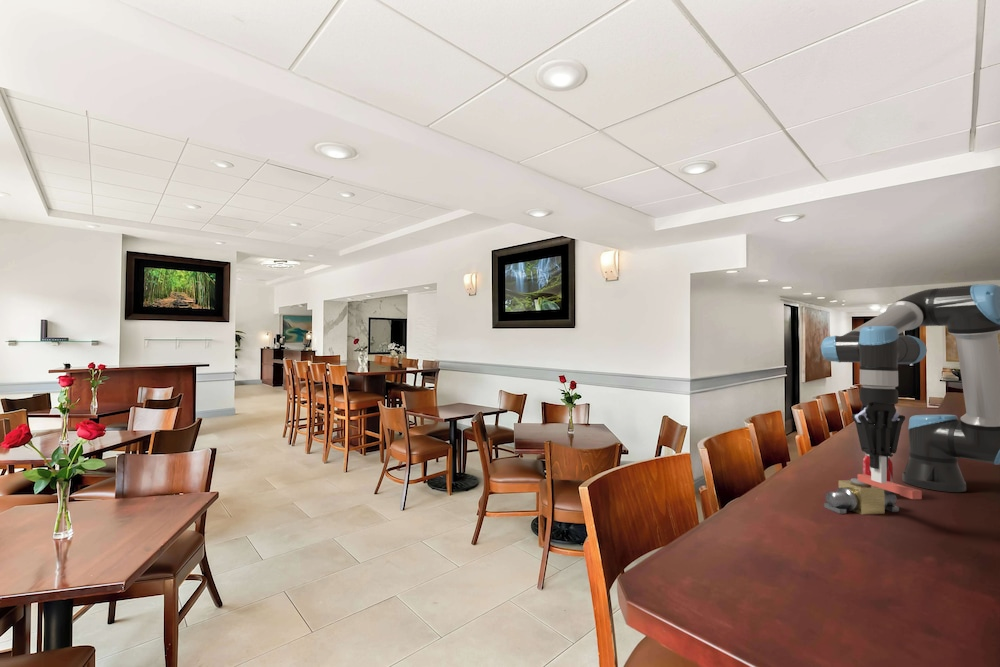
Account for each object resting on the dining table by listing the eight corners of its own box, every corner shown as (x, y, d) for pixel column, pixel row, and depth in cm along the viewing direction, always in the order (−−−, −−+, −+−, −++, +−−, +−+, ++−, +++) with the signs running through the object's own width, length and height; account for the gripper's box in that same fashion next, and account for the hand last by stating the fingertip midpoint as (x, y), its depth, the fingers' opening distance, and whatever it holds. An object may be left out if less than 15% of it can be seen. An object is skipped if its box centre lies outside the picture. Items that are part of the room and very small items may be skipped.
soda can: (899, 498, 135) (899, 458, 135) (875, 498, 135) (874, 457, 135) (880, 491, 142) (879, 452, 142) (857, 490, 142) (856, 452, 142)
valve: (877, 504, 130) (877, 479, 130) (902, 513, 123) (902, 486, 123) (821, 506, 128) (821, 480, 128) (842, 515, 121) (842, 488, 121)
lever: (846, 481, 127) (846, 471, 127) (860, 480, 128) (860, 471, 128) (909, 502, 110) (909, 491, 110) (925, 501, 111) (924, 490, 111)
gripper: (886, 386, 119) (887, 476, 118) (842, 385, 117) (842, 477, 117) (916, 388, 112) (917, 485, 111) (869, 388, 110) (869, 486, 109)
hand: (878, 481), depth 114 cm, fingers closed
